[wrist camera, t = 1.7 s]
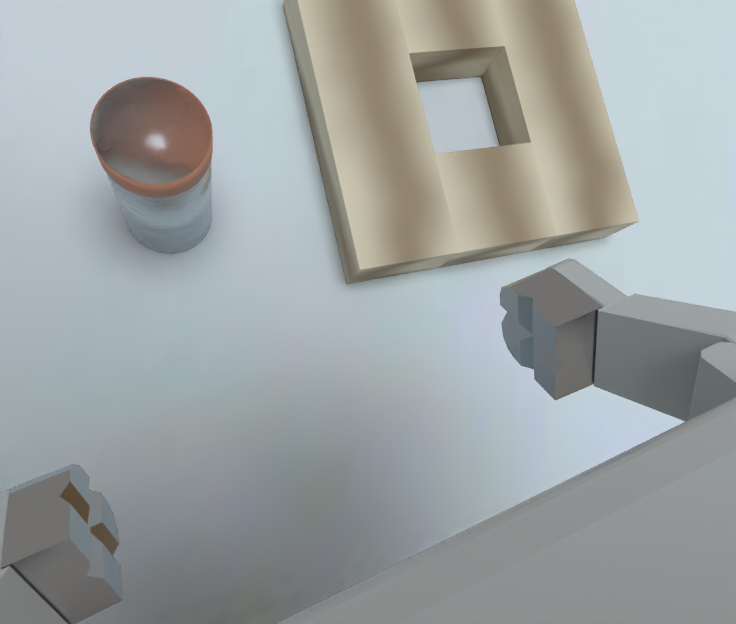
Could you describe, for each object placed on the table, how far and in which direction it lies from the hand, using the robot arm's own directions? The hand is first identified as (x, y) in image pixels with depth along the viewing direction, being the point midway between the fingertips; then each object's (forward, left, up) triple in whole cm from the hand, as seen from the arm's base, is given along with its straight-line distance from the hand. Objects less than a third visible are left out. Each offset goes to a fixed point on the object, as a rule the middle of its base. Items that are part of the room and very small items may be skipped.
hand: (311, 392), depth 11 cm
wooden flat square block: (+14, +13, -19) cm, 27 cm away
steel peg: (-2, +10, -19) cm, 22 cm away
